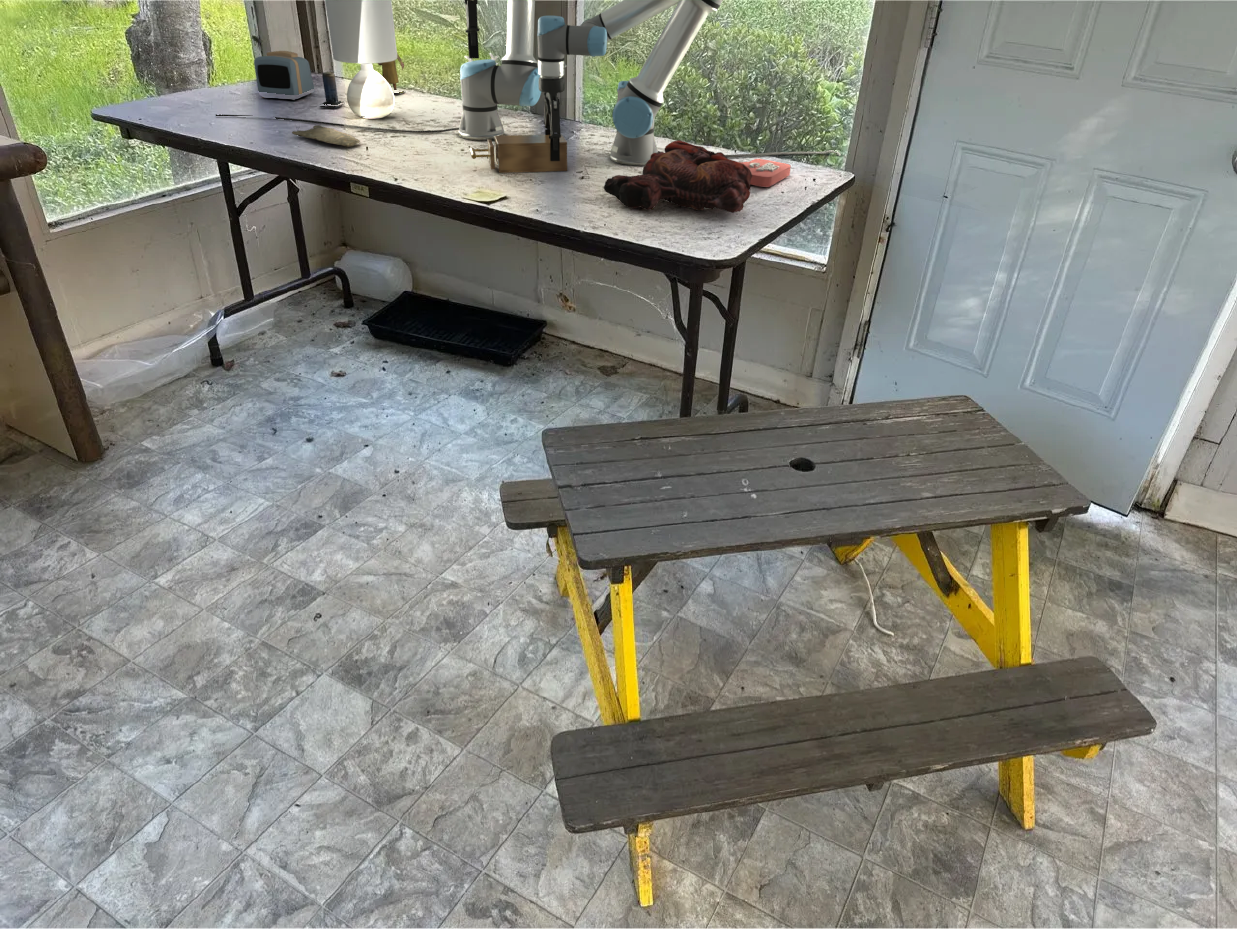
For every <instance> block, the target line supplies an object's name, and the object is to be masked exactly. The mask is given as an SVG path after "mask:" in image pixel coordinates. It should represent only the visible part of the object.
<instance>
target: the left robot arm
mask: <svg viewBox="0 0 1237 929" xmlns="http://www.w3.org/2000/svg"><path fill="white" fill-rule="evenodd" d="M478 1H479V0H463V2H464V7H465V18H466V19H465V21H466V24H465V26H466V29H465V33H467V46H468V47H467V48H468V49H467V51H468V56H469V58H472V59H476V60H473V61H471V62H469V61H466V62H464V63H463V64H461V66H460V69H459V73H460V78H459V80H460V91H461V105H462V113H461V118H460V121H459V126H458V127H451V128H444V129H435V130H414V129H413V130H411V129H397V128H395V129H394V128H385V127H384V128H382V127H374V126H373V127H371V126H364V125H363V126H362V125H353V124H343V123H335V122H328V121H327V122H326V121H321V120H318V121H317V120H309V119H301V118H291V117H279V116H274V117H275V118H276V119H275V120H278V119H284V120H283V121H290V120H292V121H291V122H300V123H309V124H317V125H326V126H327V125H328V126H336V127H344V128H352V129H362V130H369V131H381V132H395V133H397V132H398V133H409V134H432V133H433V134H435V133H447V132H453V131H458V136H459V137H460V138H462V139H465V140H471V141H488V140H489V139H491V140H492V141H493V140H494V141H495V136H505V129H504V126H503V122H502V119H501V117H500V114H499V108H498V105H504V106H505V105H506V106H517V107H522V108H523V107H534V106H535V105H536V104H537V103H538V102H539V100H540V98H541V95H542V92H541V91H540V90H539V77H540V75H539V74H538V60H536V58H535V57H534V43H535V42H534V41H535V40H534V39H535V15H536V14H535V13H536V12H535V11H536V10H535V9H536V0H507V15H506V16H507V17H506V18H507V19H506V21H507V22H506V53H505V54H504V56H503V57H501V65H498V64H497V65H496V63H497V61H496V60H491V58H490V59H487V58H486V59H480V51H479V32H480V28H479V26H478V25H479V24H478ZM497 104H498V105H497ZM218 114H219V113H218ZM216 116H252V114H251V115H247V114H223V113H222V115H221V114H219V115H217V113H216V114H215V117H216Z"/></svg>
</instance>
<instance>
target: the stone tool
mask: <svg viewBox="0 0 1237 929" xmlns="http://www.w3.org/2000/svg"><path fill="white" fill-rule="evenodd" d="M291 134H292V135H294V136H297V135H298V136H297V137H299V138H301V137H302V138H306V139H311V140H316V141H318V142H321V143H325V144H333V145H339V146H343V147H353V146H355V145H357V144H359V143H361V141H360V139H358V138H356V137H355V136H353V135H351V134H348V133H345V132H343V131H339V130H337V129H334V128H333V127H326V126H322V125H321V124H315V125H313V126H312V128H310V129H309V128H308V129H306V130H297V131H295V130H292V132H291Z"/></svg>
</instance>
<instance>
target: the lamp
mask: <svg viewBox="0 0 1237 929" xmlns="http://www.w3.org/2000/svg"><path fill="white" fill-rule="evenodd" d="M324 3H325V9H326V18H327V23H328V30H329V37H330V45H331V51H332V58H333V60H334V61H336V62H341V63H348V64H360V70H358V71H357V72H356V74H354V76H353V77H352V79H351V80H350V82H349V84H348V87H347V92H346V101H347V104H348V107H349V109H350V110H351V112H352V113H354V115H356V116H358V117H360V118H362V119H368V120H369V119H370V120H371V119H372V120H375V119H382V118H385V117H387V116H389V115H390V114H391V113H392V111H393V110H394V107H395V103H396V102H395V95H394V94H393V91H392V90H393V89H392V87H391V84H390V85H389V84H388V82H387V81H386V80H385V79H384V78H383V77H382V74H380V73H379V72H378V71H376V70H375V68H374V67H373V64H378V63H383V62H390V61H394V60H398V59H397V53H398V50H397V40H396V31H395V21H394V13H393V2H392V0H324ZM361 116H365V117H361Z"/></svg>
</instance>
